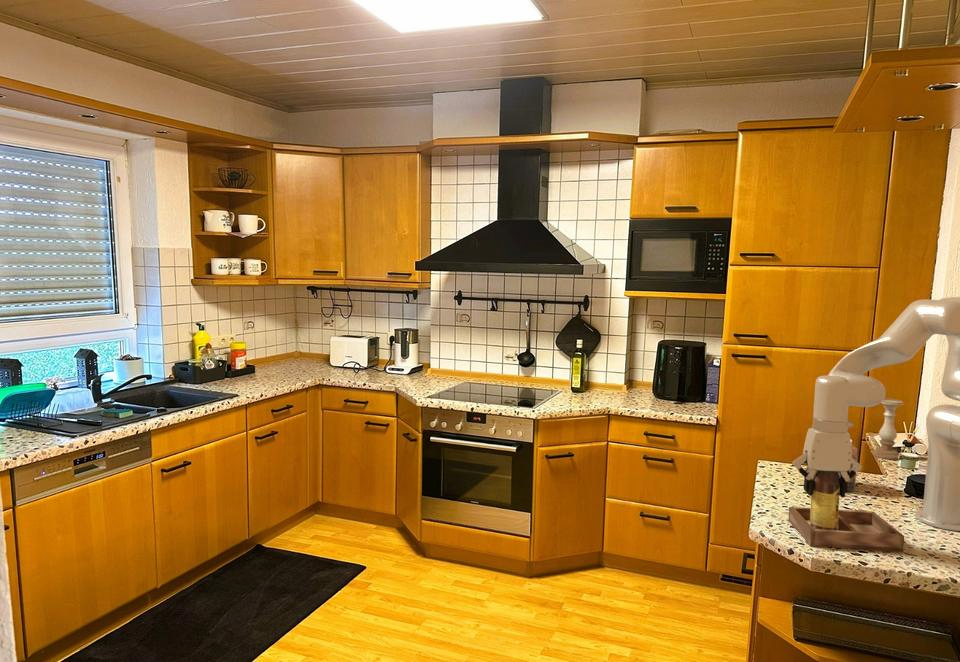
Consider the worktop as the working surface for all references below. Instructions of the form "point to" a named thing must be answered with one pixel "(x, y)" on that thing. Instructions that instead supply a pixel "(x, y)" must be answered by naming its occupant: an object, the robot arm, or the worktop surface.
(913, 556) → the worktop surface
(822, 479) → the sauce bottle
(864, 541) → the caddy
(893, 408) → the candle holder
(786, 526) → the worktop surface
